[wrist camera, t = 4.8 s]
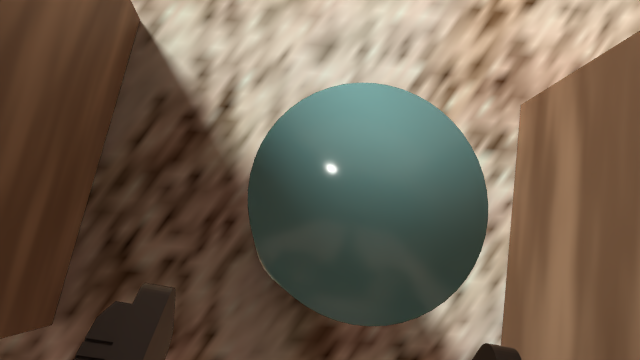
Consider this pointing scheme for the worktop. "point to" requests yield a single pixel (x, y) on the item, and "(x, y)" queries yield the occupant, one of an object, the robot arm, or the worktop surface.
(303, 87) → the worktop surface
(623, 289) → the walnut shelf
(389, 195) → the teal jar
